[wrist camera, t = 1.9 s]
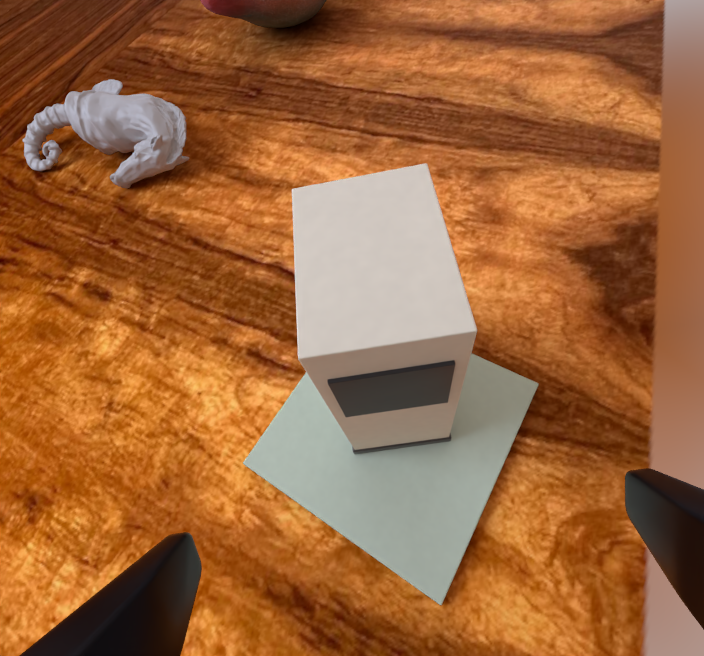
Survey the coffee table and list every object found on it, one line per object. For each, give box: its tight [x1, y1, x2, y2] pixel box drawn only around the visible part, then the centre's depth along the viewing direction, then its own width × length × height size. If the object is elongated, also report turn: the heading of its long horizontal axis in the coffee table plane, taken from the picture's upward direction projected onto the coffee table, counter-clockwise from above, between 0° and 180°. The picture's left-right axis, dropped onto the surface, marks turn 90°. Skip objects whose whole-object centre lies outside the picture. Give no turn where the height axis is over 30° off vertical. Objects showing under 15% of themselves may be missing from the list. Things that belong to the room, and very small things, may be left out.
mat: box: [243, 353, 539, 605], centre depth 22 cm, size 12×12×1 cm
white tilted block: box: [292, 164, 477, 454], centre depth 18 cm, size 5×7×12 cm
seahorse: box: [23, 80, 189, 188], centre depth 38 cm, size 5×12×20 cm
